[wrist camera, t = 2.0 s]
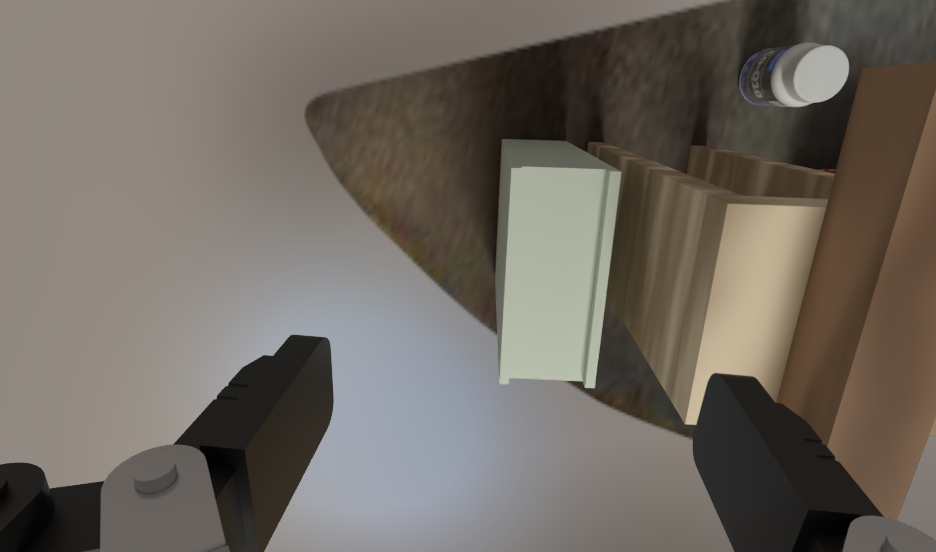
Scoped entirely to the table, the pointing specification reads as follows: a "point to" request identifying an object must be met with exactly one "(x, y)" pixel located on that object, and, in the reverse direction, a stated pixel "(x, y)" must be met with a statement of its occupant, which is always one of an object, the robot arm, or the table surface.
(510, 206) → the pale green upright block
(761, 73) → the pill bottle
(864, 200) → the walnut block
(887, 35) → the table surface
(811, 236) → the birch bridge
